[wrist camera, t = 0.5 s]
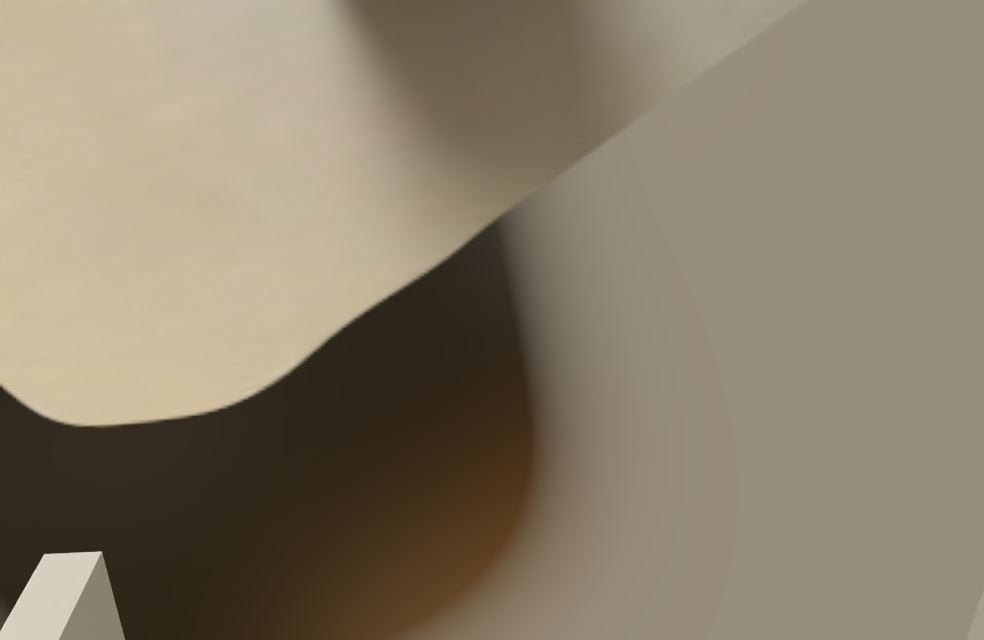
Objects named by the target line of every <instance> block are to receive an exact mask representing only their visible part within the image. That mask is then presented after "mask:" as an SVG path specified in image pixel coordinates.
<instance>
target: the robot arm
mask: <svg viewBox="0 0 984 640" xmlns="http://www.w3.org/2000/svg"><path fill="white" fill-rule="evenodd" d="M0 640H125V639H124V635H123V631H122V627H121V623H120V620H119V616H118V612H117V608H116V604H115V601H114V597H113V593H112V589H111V585H110V582H109V578H108V574H107V570H106V566H105V563H104V559H103V555H102V552H85V553H62V554H44V556H43V558H42V559H41V561H40V563H39V565H38V566H37V568H36V570H35V572H34V573H33V575H32V577H31V579H30V580H29V582H28V584H27V586H26V587H25V589H24V591H23V593H22V594H21V596H20V598H19V600H18V601H17V603H16V605H15V607H14V608H13V611H12V612H11V614H10V616H9V617H8V619H7V621H6V622H5V624H4V626H3V628H2V629H1V631H0ZM967 640H984V591H983V594H982V596H981V599H980V602H979V605H978V608H977V611H976V614H975V617H974V619H973V622H972V625H971V628H970V631H969V634H968V637H967Z"/></svg>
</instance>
